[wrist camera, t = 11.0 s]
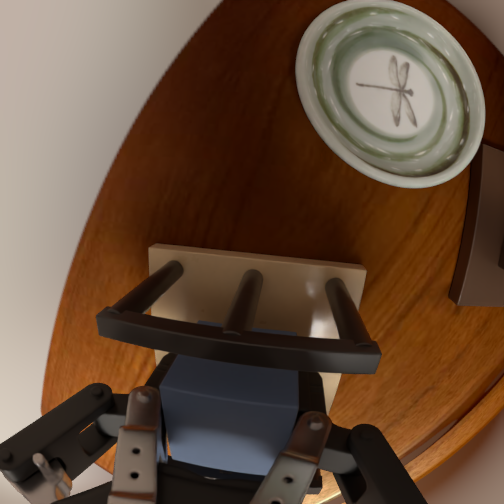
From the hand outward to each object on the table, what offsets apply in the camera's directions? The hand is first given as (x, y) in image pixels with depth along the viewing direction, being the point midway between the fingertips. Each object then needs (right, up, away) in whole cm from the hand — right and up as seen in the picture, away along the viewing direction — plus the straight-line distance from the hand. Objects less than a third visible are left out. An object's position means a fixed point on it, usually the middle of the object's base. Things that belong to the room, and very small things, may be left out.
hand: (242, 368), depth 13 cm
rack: (0, -3, +4) cm, 5 cm away
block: (0, 0, 0) cm, 0 cm away
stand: (+17, +7, -1) cm, 18 cm away
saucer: (+7, +14, -1) cm, 16 cm away
